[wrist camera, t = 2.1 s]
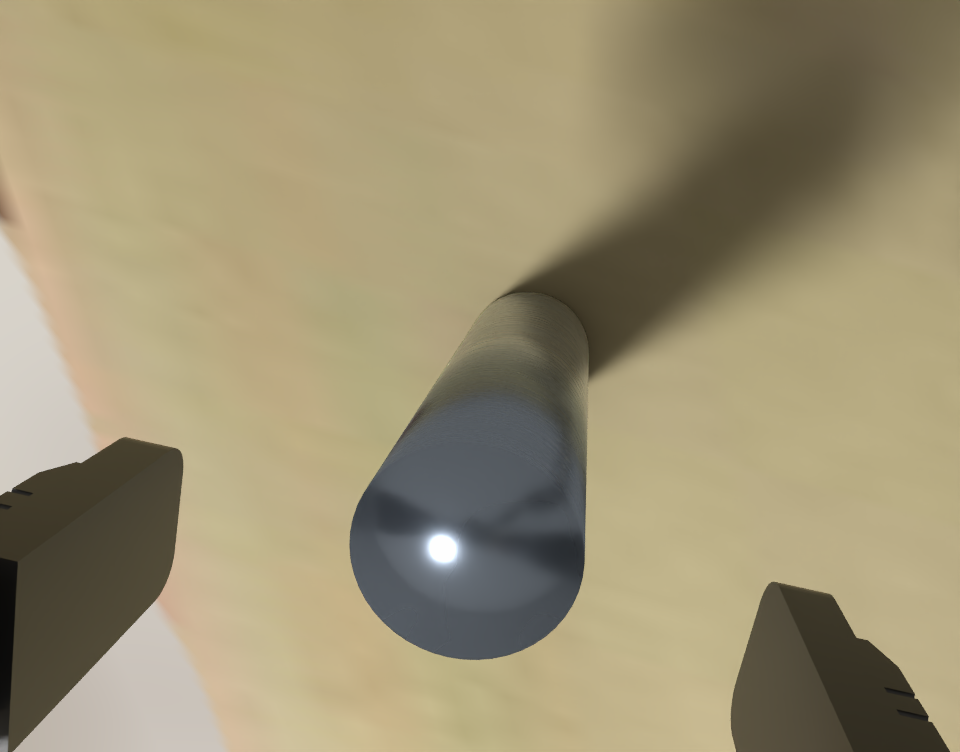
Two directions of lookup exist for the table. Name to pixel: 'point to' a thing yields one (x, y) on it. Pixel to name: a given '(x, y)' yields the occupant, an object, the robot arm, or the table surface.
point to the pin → (485, 491)
